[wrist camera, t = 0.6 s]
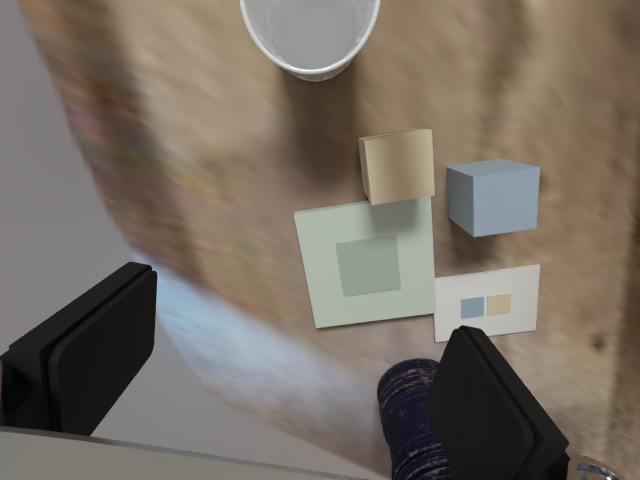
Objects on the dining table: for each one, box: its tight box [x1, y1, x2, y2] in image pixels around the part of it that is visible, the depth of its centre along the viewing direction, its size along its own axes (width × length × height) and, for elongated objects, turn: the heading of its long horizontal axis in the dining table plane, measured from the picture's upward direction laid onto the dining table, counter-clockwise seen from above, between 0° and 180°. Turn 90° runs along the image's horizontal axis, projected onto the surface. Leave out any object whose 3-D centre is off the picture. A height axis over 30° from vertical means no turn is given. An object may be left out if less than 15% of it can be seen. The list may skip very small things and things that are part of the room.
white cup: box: [240, 0, 380, 82], centre depth 23 cm, size 8×8×10 cm
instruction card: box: [433, 264, 540, 342], centre depth 36 cm, size 11×8×1 cm
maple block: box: [358, 128, 435, 205], centre depth 28 cm, size 5×5×6 cm
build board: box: [294, 196, 436, 328], centre depth 34 cm, size 13×13×1 cm
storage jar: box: [377, 358, 454, 480], centre depth 32 cm, size 10×10×18 cm
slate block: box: [447, 159, 540, 237], centre depth 29 cm, size 5×5×6 cm
